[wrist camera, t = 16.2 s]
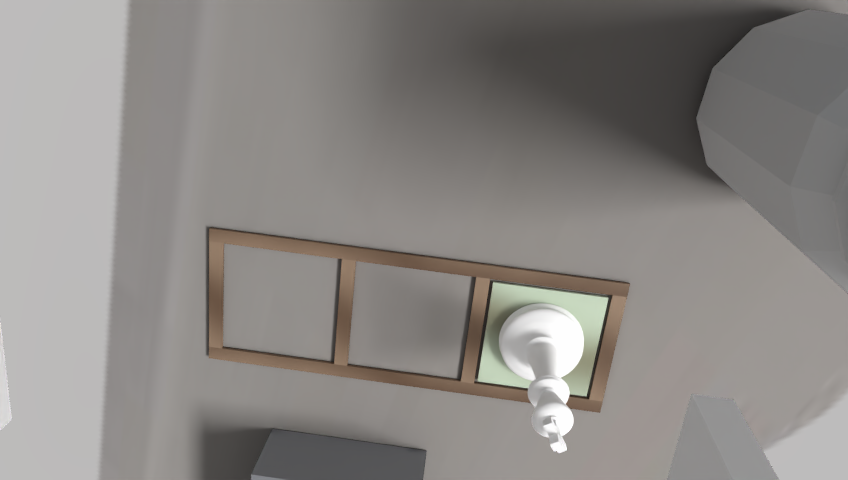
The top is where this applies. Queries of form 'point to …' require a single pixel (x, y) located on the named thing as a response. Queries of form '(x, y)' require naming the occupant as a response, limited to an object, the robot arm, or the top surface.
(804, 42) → the jar
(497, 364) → the brown wooden flat frame
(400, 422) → the top surface
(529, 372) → the chess piece
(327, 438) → the housing
